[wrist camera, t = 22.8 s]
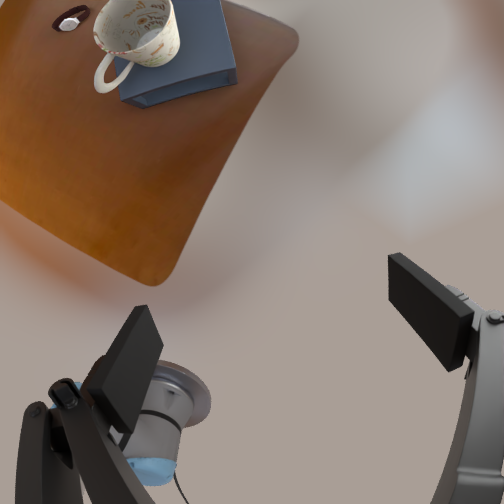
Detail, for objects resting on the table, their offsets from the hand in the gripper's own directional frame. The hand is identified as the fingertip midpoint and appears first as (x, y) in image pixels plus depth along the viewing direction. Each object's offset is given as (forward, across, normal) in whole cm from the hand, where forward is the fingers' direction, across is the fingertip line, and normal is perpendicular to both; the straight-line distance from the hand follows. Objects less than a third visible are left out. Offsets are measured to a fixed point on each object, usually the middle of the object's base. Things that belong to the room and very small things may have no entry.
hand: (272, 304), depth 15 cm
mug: (+23, -9, +23) cm, 34 cm away
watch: (+32, -24, +42) cm, 58 cm away
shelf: (+32, -6, +26) cm, 41 cm away
